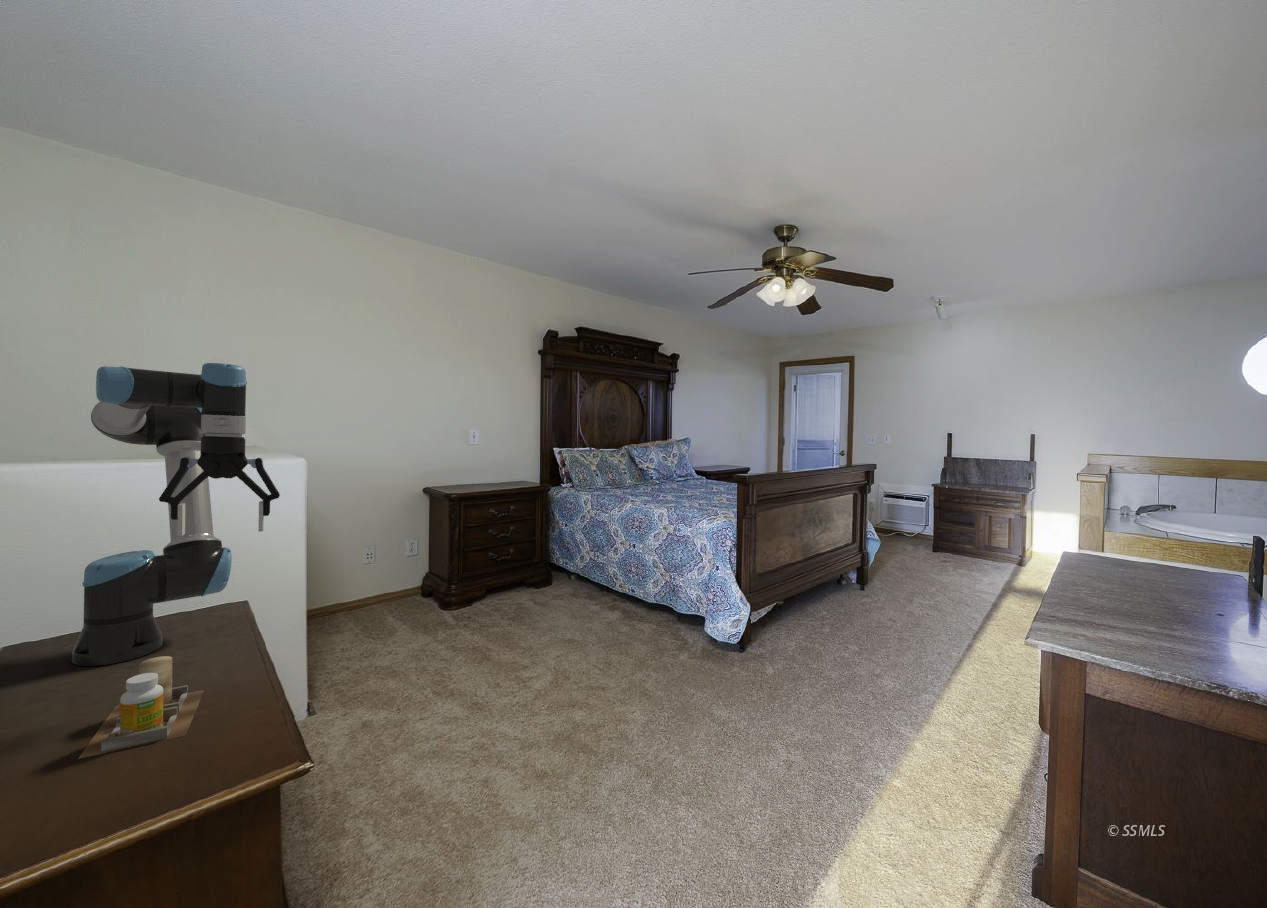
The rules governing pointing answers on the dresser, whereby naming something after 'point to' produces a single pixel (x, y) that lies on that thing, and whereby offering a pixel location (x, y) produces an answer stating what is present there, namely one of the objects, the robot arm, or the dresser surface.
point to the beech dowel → (160, 674)
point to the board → (174, 726)
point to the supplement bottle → (141, 704)
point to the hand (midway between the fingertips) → (222, 532)
